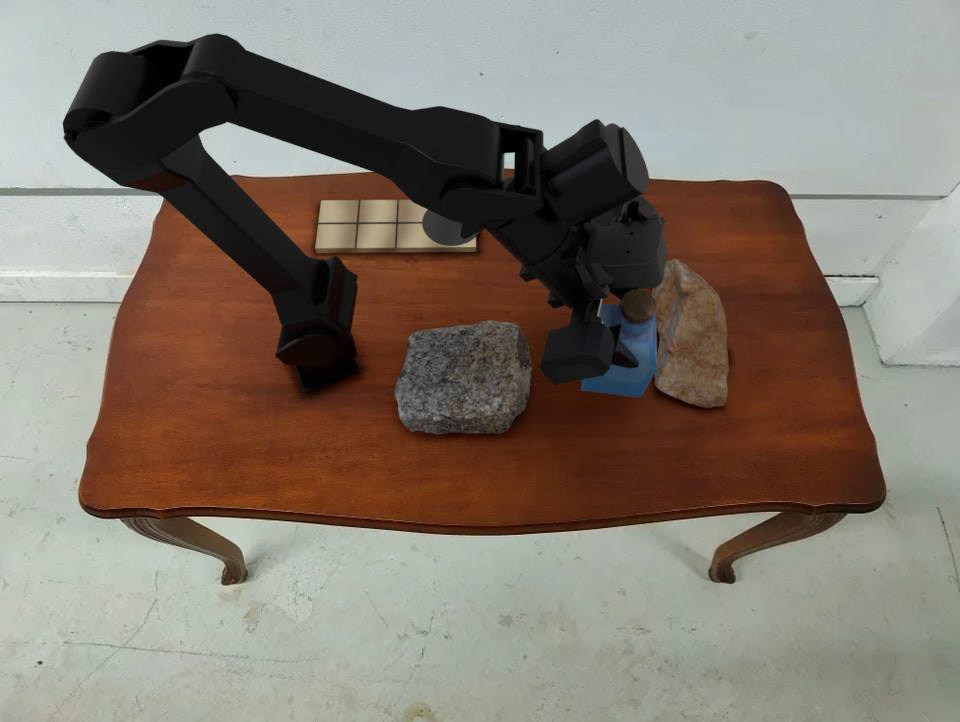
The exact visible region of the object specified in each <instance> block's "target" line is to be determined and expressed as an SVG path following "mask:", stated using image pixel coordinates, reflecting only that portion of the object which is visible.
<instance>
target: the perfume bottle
mask: <svg viewBox="0 0 960 722" xmlns="http://www.w3.org/2000/svg"><path fill="white" fill-rule="evenodd" d="M651 294H652V293H650V292H648V291H646V290H644V289H643V290H631V291H629V292H627V293H626V294H625V295H624V297H623V300H620V301H619V303H618V304H617V303H608V304H602V306H601V311H600V315H599V317H600V318H601V319H602V320H603V321H604V323H605V324H606V325H607V326H608V327H611V326H615V325H619V324H621V325H622V327H621V332H620V337H619V339H620V340H621V341H622V342H623V343H624V344H625V346H626V347H627V348H628V349H629V350H630V351H631V352H632V354H633V355H634V356H635V358H636V359H637V361H638V362H639V367H637V368H632V369H628V368H624V367H620V366H616V365H611V366H610V369H609V370H608V371H607V372H606V373H605V374H604V375H603V376H599V377H594V378H589V379H584V380H581V387H580V388H581V389H580V390H581V391H582V392H588V393H589V392H590V393H599V394H606V395H607V394H608V395H616V396H624V397H631V398H632V397H633V398H640V399H641V398H642V397H643V395H644V393H645V391H646V389H648V386H649V384H650V382H651V380H652V379H653V377H654V376H655V371H656V370H657V354H658V344H657V343H658V342H657V330H656V314H655V311H656V308H657V304H656V300H655V299H654V297H653V296H652V295H651Z"/></svg>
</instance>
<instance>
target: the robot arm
mask: <svg viewBox="0 0 960 722" xmlns="http://www.w3.org/2000/svg"><path fill="white" fill-rule="evenodd" d="M227 123H229V124H231V125H234V126H238V127H240V128H243V129H246V130H250V131H252V132H255V133H258V134H261V135H263V136H267V137H270V138H272V139H276V140H279V141H281V142H285V143H287V144H290V145H293V146H297V147H299V148H302V149H305V150H308V151H310V152H314V153H317V154H320V155H322V156H325V157H328V158H332V159H335V160H337V161H340V162H343V163H347V164H348V165H349V164H350V165H352V166H355V167H358V168H360V169H364V170H367V171H369V172H372V173H376V174H377V175H380V176H382V177H383V178H386V179H388V180H390V181H391V182H392V183H393V184H394V185H395V186H396V187H397V188H398V189H399V190H400V191H401V192H402V193H403V194H404V195H405V196H406V197H407V198H408V200H411V201H412V202H413V203H415V204H417V205H419V206H421V207H423V208H426V209H428V210H430V211H432V212H434V213H436V214H438V215H440V216H442V217H444V218H447V219H449V220H452V221H455V222H460V223H462V226H461V231H460V236H461V238H463V239H467V238H469V237H470V236H472V235H474V234H476V233H478V232H479V231H480V232H481V231H483V230H486V232H487V233H489V234H490V235H491V236H492V237H493V238H494V240H496V241H497V242H498V243H499V244H500V245H501V246H502V247H504V249H505V250H506V251H507V252H509V254H511V256H513V257H514V258H515V259H516V260H517V261H518V262H519V263H520V264H521V267H520V270H519V274H518V276H519V278H521V279H522V280H523V281H524V282H525V283H528V282H530V281H534V280H537V281H538V282H539V283H540V284H541V285H543V287H544V288H546V289H547V290H548V292H549V294H548V297H547V302H546V303H547V304H548V305H549V306H550V307H551V308H552V309H558V308H561V307H567V308H568V309H570V311H571V316H570V321H569V325H567V326H562V327H559V328H555V329H551V330H548V332H547V336H546V339H545V344H544V347H543V351H542V356H541V360H540V364H539V366H538V371H539V372H540V373H541V374H542V376H544V378H546V379H547V380H548V381H550V383H551V384H553V385H554V386H557V385H563V384H568V383H573V382H578V381H582V380H584V379H589V378H594V377H599V376H603V375H604V374H605V373H606V372H607V371H608V370H609V369H610V366H611V365H616V366H620V367H624V368H628V369H632V368H637V367H639V362H638V361H637V359H636V358H635V356H634V355H633V354H632V352H631V351H630V350H629V349H628V348H627V347H626V346H625V344H624V343H623V342H622V341H621V340H620V339H619V337H620V332H621V327H622V325H621V324H619V325H615V326H611V327H608V326H607V325H606V324H605V323H604V321H603V320H602V319H601V318H600V317H599V315H600V311H601V306H603V300H604V299H606V298H609V296H610V294H612V296H614V297H616V298H617V299H619V300H620V301H621V300H623V297H624V295H625V294H626V293H627V292H629V291H631V290H643V291H644V289H645V290H650V289H652V288H655V287H657V286H659V285H660V284H661V283H662V281H663V278H664V269H665V264H666V263H667V257H668V254H669V250H668V246H667V243H666V242H667V241H666V238H665V227H666V218H665V217H662V216H661V215H660V213H658V212H657V209H656V208H655V207H654V206H653V205H652V203H650V202H649V201H648V200H647V199H646V198H645V197H644V196H643V195H644V194H645V193H647V192H648V191H649V189H650V182H651V181H650V175H649V171H648V167H647V163H646V160H645V158H644V155H643V153H642V152H641V149H640V147H639V146H638V143H637V141H636V140H635V139H634V137H633V136H632V134H630V132H629V131H628V129H627V128H625V126H622V127H620V126H619V125H618V124H616V123H613V122H611V123H608V124H606V125H605V124H604V123H603V122H602V121H601V120H600V119H599V118H595V119H593V120H591V121H590V122H588V123H586V124H585V125H583V126H582V127H581V128H580V129H578V131H576V132H575V133H574V134H573V135H571V136H568V137H567V138H566V139H564V140H563V141H561V142H559V143H558V144H556V145H554V146H553V147H551V148H549V149H547V148H546V147H545V145H544V143H545V141H544V140H545V139H544V131H543V130H542V129H537V128H533V127H527V126H522V125H520V124H511V123H506V122H501V121H495V120H492V119H490V118H489V117H487V116H484V115H481V114H478V113H473V112H469V111H466V110H465V111H464V110H461V109H456V108H452V107H448V106H443V105H436V106H430V107H422V108H416V109H409V108H404V107H400V106H396V105H393V104H391V103H388V102H385V101H383V100H380V99H378V98H376V97H375V98H374V97H372V96H370V95H366V94H364V93H361V92H359V91H356V90H353V89H351V88H349V87H348V88H347V87H345V86H343V85H340V84H337V83H335V82H332V81H330V80H327V79H325V78H321V77H318V76H316V75H313V74H311V73H308V72H306V71H304V70H300V69H298V68H296V67H293V66H289V65H287V64H284V63H282V62H279V61H276V60H274V59H271V58H268V57H265V56H263V55H261V54H257V53H255V52H252V51H249V50H248V49H246V48H245V47H244V46H243V45H242V43H240V42H239V40H236V39H234V38H233V37H231V36H229V35H226V34H222V33H218V32H217V33H208V34H205V35H202V36H199V37H198V38H194V39H192V40H189V41H179V40H172V39H171V40H170V39H157V40H155V41H152V42H149V43H147V44H144V45H141V46H139V47H136V48H134V49H131V50H129V51H128V50H127V51H116V50H110V51H105V52H101V53H99V54H97V55H96V56H95V57H94V58H93V59H92V61H91V63H90V66H89V68H88V70H87V71H86V73H85V75H84V77H83V80H82V81H81V83H80V85H79V88H78V89H77V91H76V94H75V95H74V98H73V99H72V102H71V104H70V105H69V108H68V110H67V112H66V114H65V116H64V118H63V121H62V131H63V136H62V137H63V140H64V141H65V143H66V145H67V146H68V148H70V150H71V151H72V152H73V153H74V154H75V155H76V156H77V157H78V158H79V159H81V160H82V161H83V162H85V163H87V165H89V166H91V167H93V168H94V169H95V170H96V171H98V172H99V173H101V174H102V175H104V176H106V177H107V178H108V179H110V180H111V181H113V182H114V183H116V184H117V185H119V186H120V187H124V188H129V189H135V190H140V191H145V192H148V193H149V192H151V193H155V194H157V195H159V196H160V197H162V198H163V199H164V200H166V202H168V203H169V204H170V205H171V206H172V207H173V208H174V209H175V210H177V212H179V213H180V215H182V216H183V217H184V218H186V219H187V220H188V221H189V222H190V223H191V224H192V225H193V226H194V227H195V228H196V229H198V231H200V232H201V233H202V234H203V235H204V236H205V237H207V238H208V239H209V240H210V241H211V242H212V243H213V244H214V245H216V247H218V249H220V250H221V251H222V252H223V253H224V254H226V255H227V256H228V257H229V259H231V260H232V261H233V262H234V263H235V264H237V265H238V267H240V268H241V269H242V270H243V271H244V272H245V273H247V274H248V275H249V276H250V277H251V278H252V279H253V281H255V282H257V284H258V285H260V286H261V287H262V288H263V289H264V290H265V291H267V292H268V293H269V295H270V297H271V300H272V302H273V305H274V308H275V311H276V313H277V314H276V315H277V317H278V320H279V322H280V325H281V328H280V332H279V337H278V342H277V346H276V351H275V355H274V356H275V358H277V359H278V360H279V361H280V362H282V363H283V364H284V365H285V366H293V367H294V369H295V372H296V374H297V377H298V379H299V382H300V384H301V387H302V390H303V392H304V393H305V394H311V393H313V392H317V391H318V390H319V391H320V390H321V389H325V388H327V387H329V386H332V385H334V384H336V383H339V382H340V383H341V382H343V381H345V380H347V379H350V378H352V377H355V376H358V375H359V374H360V368H359V365H358V363H357V360H356V358H357V357H358V355H359V354H358V351H357V347H356V343H355V339H354V336H353V333H352V329H353V322H354V320H353V319H354V315H355V309H356V303H357V295H358V290H359V289H358V288H359V286H358V283H357V282H358V277H359V276H358V274H356V273H354V272H353V271H351V270H350V269H349V268H347V266H346V264H344V262H343V261H342V259H341V258H340V257H339V256H336V255H335V256H331V257H330V258H322V257H314V256H308V255H307V254H306V253H305V252H304V251H303V250H302V249H301V248H300V247H299V246H298V245H297V244H296V243H295V242H294V241H293V240H292V238H291V237H289V235H287V234H286V232H284V231H283V229H282V228H281V227H280V226H279V225H278V224H277V223H276V222H275V221H274V220H273V219H272V218H271V217H270V216H269V215H268V214H267V213H266V212H265V211H264V209H263V208H261V207H260V205H259V204H258V203H257V202H256V201H255V200H254V199H252V197H251V196H250V195H249V194H248V193H247V192H246V191H245V190H244V189H243V187H241V186H240V185H239V184H238V183H237V182H236V181H235V180H234V178H233V177H232V176H231V175H229V173H227V171H226V170H225V169H224V168H223V167H222V165H220V164H219V163H218V162H217V161H216V160H215V159H214V158H213V157H212V156H211V154H209V152H208V151H207V150H206V149H205V147H204V144H203V142H202V139H201V137H200V134H201V133H202V132H204V131H205V130H209V129H211V128H215V127H218V126H222V125H225V124H227ZM513 153H514V163H513V175H511V176H508V177H506V178H505V158H506V157H505V155H506V154H513ZM480 232H479V233H480ZM479 233H478V234H479ZM355 370H356V371H355Z"/></svg>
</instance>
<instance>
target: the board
mask: <svg viewBox="0 0 960 722" xmlns="http://www.w3.org/2000/svg"><path fill="white" fill-rule="evenodd" d="M461 226H462V223H460V222H455V221H452V220H449V219H447V218H444V217H442V216H440V215H438V214H436V213H434V212H432V211H430V210H428V209H426V208H423V207H421V206H419V205H417V204H415V203H413V202H412V201H411V200H410V199H399V198H398V199H397V198H396V199H360V198H359V199H334V200H333V199H331V200H330V199H329V200H327V199H326V200H325V199H323V200H322V199H321V201H320V208H319V216H318V222H317V232H316V238H315V239H316V240H315V247H314V249H315V252H316V254H375V253H376V254H378V253H380V254H381V253H382V254H384V253H386V254H387V253H389V254H390V253H392V254H393V253H477V236H478V235H479V233H480V232H481V231H479V232H478V233H476V234H474V235H472V236H470V237H469V238H467V239H463V238H461V236H460V231H461Z"/></svg>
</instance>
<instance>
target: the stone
mask: <svg viewBox="0 0 960 722" xmlns="http://www.w3.org/2000/svg"><path fill="white" fill-rule="evenodd" d="M651 289H652V290H651V293H650V294H651V295H652V296H653V297H654V299H655V300H656V304H657V308H656V311H655V314H656V332H657V334H658V337H659V339H658V341H659V344H658V347H657V370H656V371H655V373H654V386H655V387H656V389H658V390H659V391H660V392H662V393H664V394H666V395H668V396H670V397H673V398H675V399H678V400H680V401H682V402H684V403H686V404H688V405H694V406H697V407H699V408H700V407H701V408H703V409H712V408H714V407H724V406H725V405H726V403H727V400H728V397H727V396H728V393H729V387H728V383H727V380H728V379H727V378H728V376H729V371H730V367H729V353H728V327H727V326H728V325H727V316H726V315H727V314H726V312H725V308H724V307H723V303H722V301H721V297H720V295H719V293H718V292H717V291H716V290H715V289H714V288H713V287H712V286H711V285H710V284H708V282H707V281H706V280H705V279H704V278H703V277H702V276H701V275H699V274H698V273H697V272H694V271H693V270H692V269H691V268H690V267H689V266H688V265H687V264H686V263H684V262H682V261H681V260H679V259H677V258H673V259H670V260H668V261H666V263H665V269H664V278H663V281H662V283H661V284H660V285H659V286H657V287H655V288H651Z"/></svg>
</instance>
